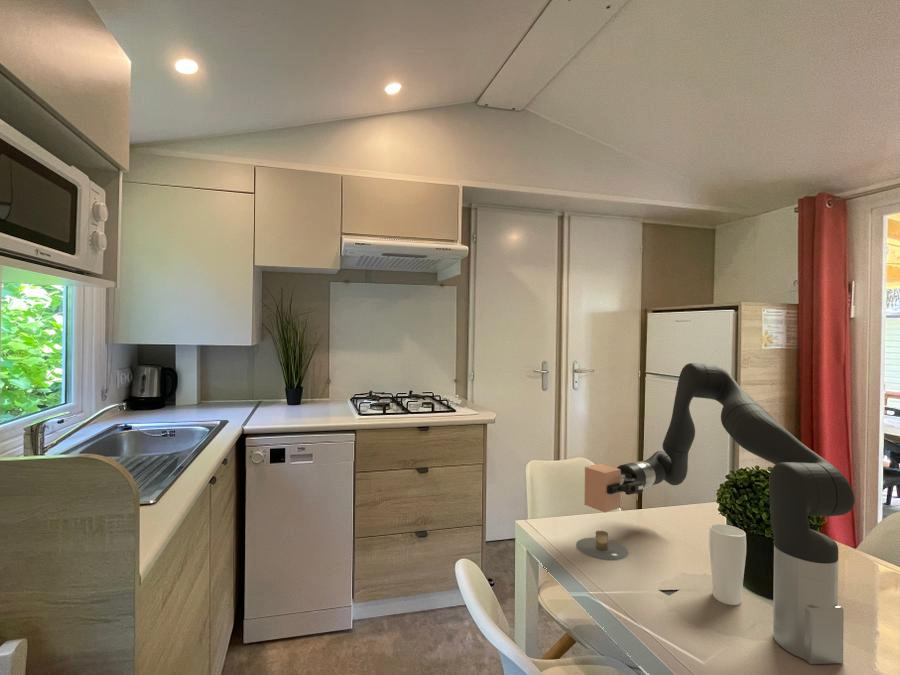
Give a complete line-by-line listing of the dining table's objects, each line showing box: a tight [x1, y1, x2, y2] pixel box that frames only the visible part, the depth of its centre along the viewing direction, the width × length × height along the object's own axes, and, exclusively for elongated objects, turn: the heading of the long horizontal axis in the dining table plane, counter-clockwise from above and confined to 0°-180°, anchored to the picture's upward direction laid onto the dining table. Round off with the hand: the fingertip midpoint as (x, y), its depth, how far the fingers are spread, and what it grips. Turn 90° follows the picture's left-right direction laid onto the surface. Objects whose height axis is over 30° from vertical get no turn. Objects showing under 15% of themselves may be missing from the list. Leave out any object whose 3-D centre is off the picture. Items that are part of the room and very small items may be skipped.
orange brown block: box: [584, 463, 622, 513], centre depth 118 cm, size 6×6×10 cm
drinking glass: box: [708, 523, 747, 606], centre depth 96 cm, size 7×7×15 cm
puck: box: [595, 530, 609, 551], centre depth 118 cm, size 3×3×4 cm
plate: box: [575, 537, 629, 561], centre depth 118 cm, size 13×13×1 cm
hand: (596, 486), depth 117 cm, fingers closed on orange brown block, 6 cm apart
